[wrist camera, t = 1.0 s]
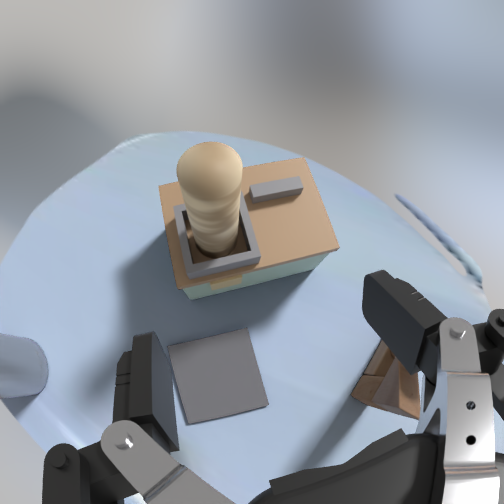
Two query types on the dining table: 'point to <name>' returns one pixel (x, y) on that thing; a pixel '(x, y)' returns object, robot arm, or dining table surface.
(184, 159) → the tan ridged cylinder
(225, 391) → the charcoal mat
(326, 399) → the dining table surface
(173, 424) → the robot arm
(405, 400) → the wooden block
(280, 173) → the pale green box
